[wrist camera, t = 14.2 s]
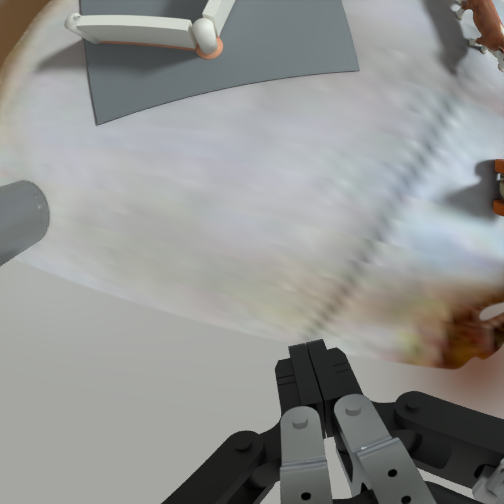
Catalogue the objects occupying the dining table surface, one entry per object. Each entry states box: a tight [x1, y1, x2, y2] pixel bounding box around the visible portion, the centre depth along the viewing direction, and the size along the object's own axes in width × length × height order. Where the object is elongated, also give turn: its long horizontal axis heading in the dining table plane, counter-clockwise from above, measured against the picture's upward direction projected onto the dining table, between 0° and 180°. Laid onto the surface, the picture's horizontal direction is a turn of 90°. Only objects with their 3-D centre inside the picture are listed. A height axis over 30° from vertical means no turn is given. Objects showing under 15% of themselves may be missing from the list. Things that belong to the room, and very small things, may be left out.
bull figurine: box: [457, 0, 504, 72], centre depth 26 cm, size 4×13×8 cm, turn 16°
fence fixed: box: [64, 13, 218, 54], centre depth 27 cm, size 16×2×8 cm, turn 76°
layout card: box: [81, 0, 360, 125], centre depth 30 cm, size 32×20×1 cm, turn 101°
